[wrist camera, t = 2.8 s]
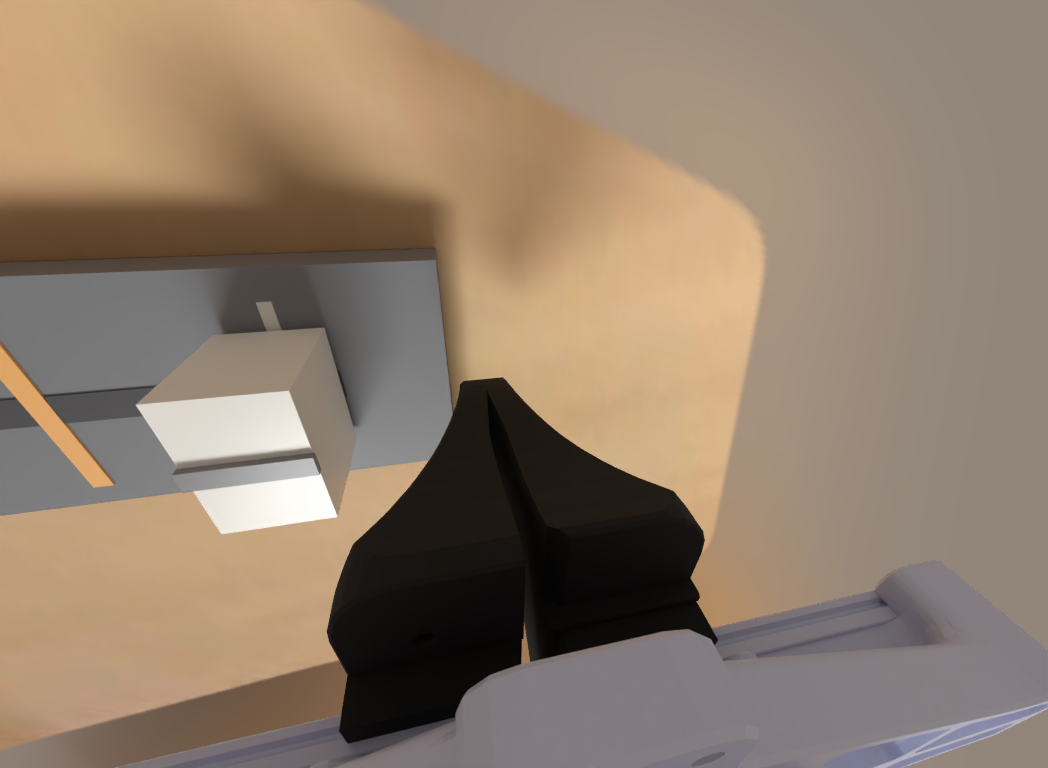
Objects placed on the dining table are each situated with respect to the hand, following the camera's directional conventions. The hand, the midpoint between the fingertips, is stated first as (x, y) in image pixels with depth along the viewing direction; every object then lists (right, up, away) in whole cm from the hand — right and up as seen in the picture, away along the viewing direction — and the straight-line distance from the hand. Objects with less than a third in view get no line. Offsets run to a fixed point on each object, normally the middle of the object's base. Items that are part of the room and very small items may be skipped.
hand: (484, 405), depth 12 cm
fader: (-6, 0, +1) cm, 6 cm away
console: (-11, +1, +1) cm, 11 cm away
